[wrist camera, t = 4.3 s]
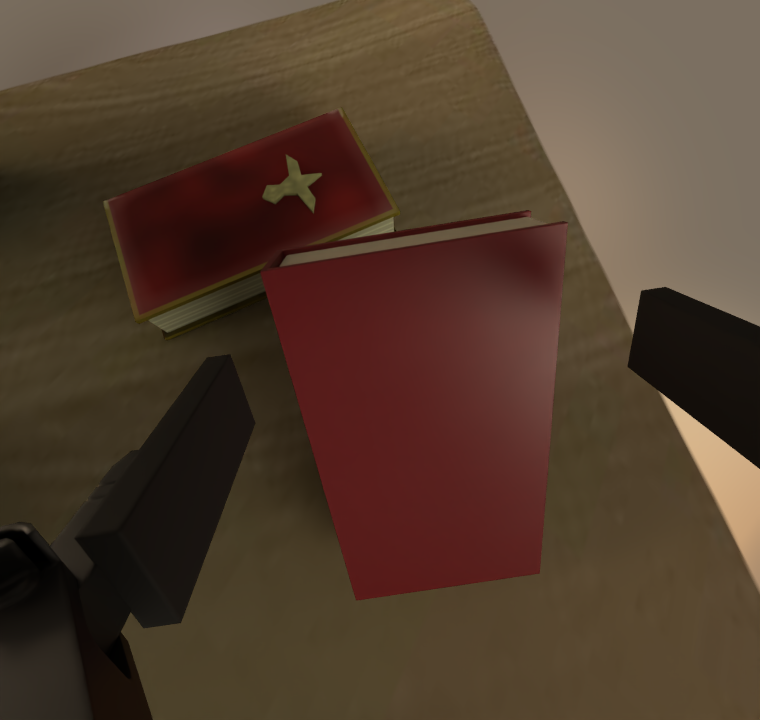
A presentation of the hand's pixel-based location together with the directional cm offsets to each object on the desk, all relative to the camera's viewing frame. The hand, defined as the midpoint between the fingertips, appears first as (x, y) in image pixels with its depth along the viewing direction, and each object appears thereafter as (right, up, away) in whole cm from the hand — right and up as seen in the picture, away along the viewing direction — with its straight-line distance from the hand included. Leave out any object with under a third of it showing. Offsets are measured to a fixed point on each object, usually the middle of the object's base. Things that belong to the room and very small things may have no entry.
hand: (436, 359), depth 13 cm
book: (0, -3, +9) cm, 9 cm away
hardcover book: (-12, +11, +22) cm, 27 cm away
